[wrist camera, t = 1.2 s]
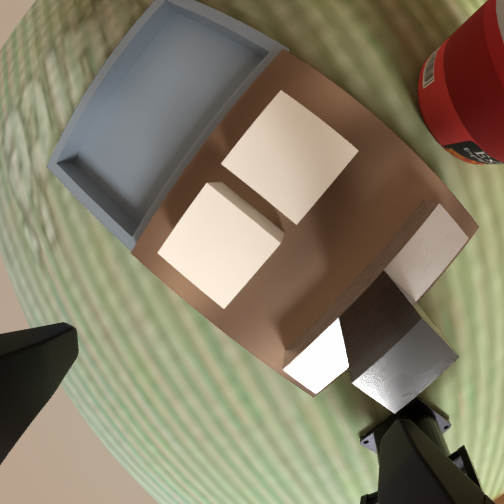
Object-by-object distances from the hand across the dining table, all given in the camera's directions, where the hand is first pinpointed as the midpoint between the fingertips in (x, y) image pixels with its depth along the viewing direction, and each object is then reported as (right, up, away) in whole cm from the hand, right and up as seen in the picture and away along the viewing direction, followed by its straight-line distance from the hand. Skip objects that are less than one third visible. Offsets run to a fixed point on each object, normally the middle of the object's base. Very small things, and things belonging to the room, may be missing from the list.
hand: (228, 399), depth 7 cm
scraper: (+7, +1, +8) cm, 11 cm away
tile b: (-1, +4, +9) cm, 10 cm away
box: (-5, +13, +11) cm, 18 cm away
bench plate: (+4, +5, +11) cm, 13 cm away
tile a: (+3, +8, +7) cm, 11 cm away
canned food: (+15, +13, +8) cm, 21 cm away
